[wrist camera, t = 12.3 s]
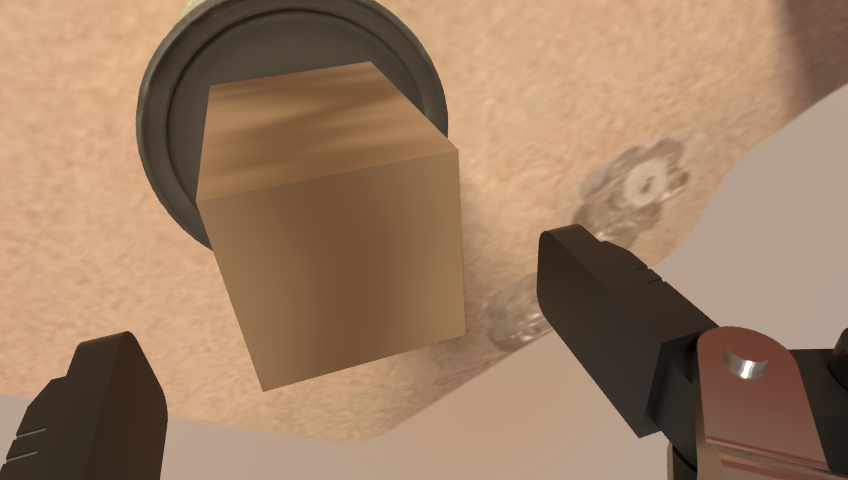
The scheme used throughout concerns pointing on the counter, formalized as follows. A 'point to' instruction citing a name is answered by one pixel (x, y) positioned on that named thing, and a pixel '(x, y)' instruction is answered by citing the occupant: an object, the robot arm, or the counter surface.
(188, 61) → the coffee can
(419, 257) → the walnut block
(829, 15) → the counter surface
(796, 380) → the robot arm
